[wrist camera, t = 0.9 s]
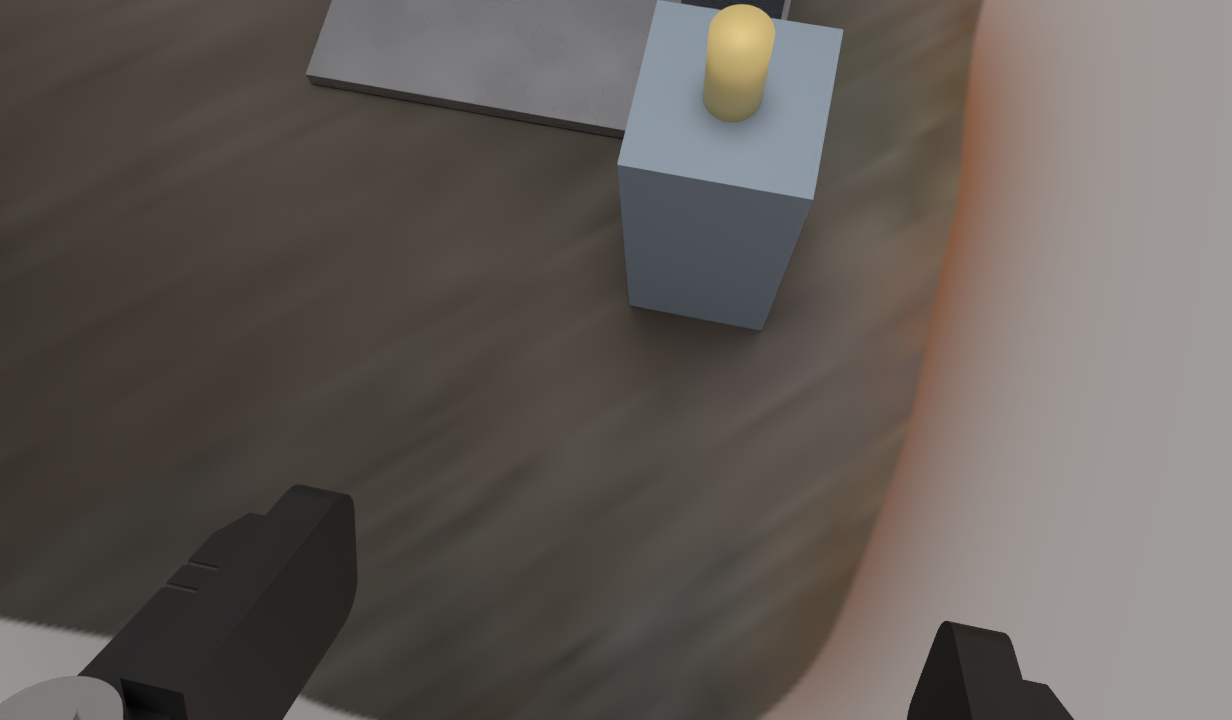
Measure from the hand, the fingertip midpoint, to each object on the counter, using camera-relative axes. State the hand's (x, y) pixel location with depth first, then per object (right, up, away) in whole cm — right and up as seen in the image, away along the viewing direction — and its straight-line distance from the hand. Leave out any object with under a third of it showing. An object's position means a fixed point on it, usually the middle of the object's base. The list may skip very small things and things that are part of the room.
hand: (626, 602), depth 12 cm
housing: (+3, +7, +19) cm, 20 cm away
